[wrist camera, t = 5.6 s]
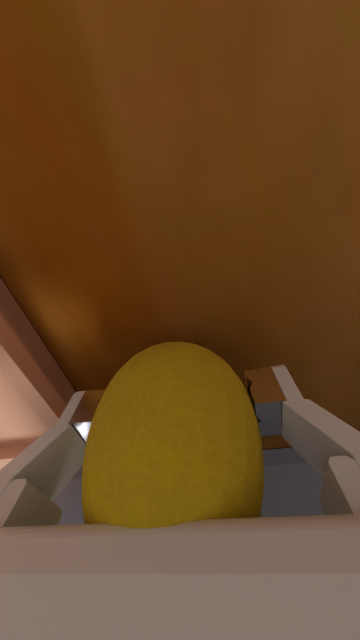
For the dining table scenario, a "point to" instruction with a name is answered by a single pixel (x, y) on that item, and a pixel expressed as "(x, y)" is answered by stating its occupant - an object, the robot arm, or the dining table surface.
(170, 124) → the dining table surface
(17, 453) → the dish
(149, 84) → the dining table surface
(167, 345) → the lemon
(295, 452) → the screen
